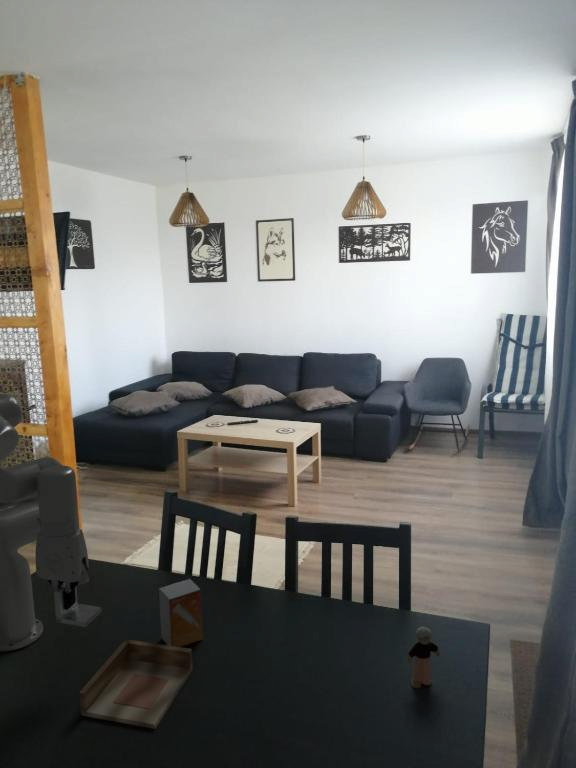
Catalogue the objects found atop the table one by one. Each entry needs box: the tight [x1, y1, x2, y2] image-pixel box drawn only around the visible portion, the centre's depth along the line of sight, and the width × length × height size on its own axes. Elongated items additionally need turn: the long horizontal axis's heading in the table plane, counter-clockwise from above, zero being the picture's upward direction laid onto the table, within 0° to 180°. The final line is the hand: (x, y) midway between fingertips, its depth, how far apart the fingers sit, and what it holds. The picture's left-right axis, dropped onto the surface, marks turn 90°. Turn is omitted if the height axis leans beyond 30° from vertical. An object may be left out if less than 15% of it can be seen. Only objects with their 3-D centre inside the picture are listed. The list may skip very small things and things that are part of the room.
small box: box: [158, 578, 203, 648], centre depth 143 cm, size 8×6×13 cm
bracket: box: [53, 583, 102, 628], centre depth 128 cm, size 7×6×7 cm
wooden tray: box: [78, 639, 194, 730], centre depth 126 cm, size 16×18×5 cm
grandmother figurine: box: [405, 626, 441, 689], centre depth 126 cm, size 8×4×13 cm, turn 117°
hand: (66, 605), depth 129 cm, fingers closed on bracket, 1 cm apart
